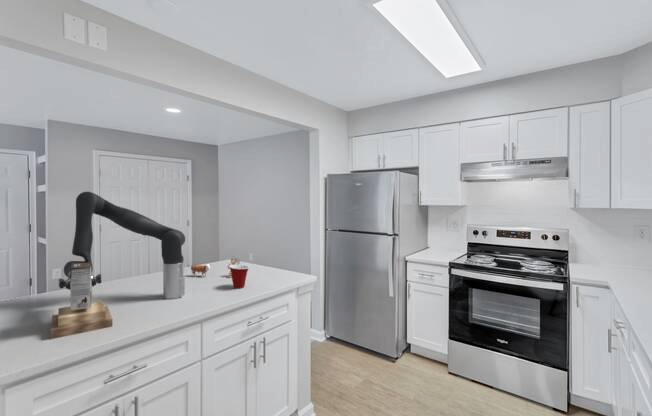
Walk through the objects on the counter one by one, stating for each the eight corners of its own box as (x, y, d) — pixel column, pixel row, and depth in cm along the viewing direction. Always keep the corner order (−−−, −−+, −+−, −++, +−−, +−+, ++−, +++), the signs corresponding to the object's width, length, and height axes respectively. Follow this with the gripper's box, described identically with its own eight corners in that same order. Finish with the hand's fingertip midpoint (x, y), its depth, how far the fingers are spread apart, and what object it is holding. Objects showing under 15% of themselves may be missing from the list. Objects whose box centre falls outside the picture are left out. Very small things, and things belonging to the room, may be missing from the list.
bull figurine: (208, 278, 197) (209, 265, 197) (189, 276, 200) (189, 263, 200) (212, 276, 201) (212, 263, 201) (193, 275, 204) (193, 262, 204)
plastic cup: (252, 288, 177) (252, 266, 177) (232, 291, 171) (233, 268, 170) (245, 283, 186) (245, 263, 186) (226, 286, 180) (226, 265, 179)
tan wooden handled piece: (228, 278, 197) (228, 259, 197) (225, 277, 200) (225, 258, 200) (241, 275, 204) (241, 257, 204) (238, 274, 207) (238, 256, 206)
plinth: (107, 312, 136) (107, 299, 136) (112, 326, 123) (112, 311, 122) (52, 322, 125) (52, 307, 125) (50, 339, 111) (50, 322, 111)
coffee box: (72, 303, 126) (71, 263, 125) (92, 300, 129) (91, 261, 129) (69, 310, 118) (69, 267, 117) (91, 307, 122) (91, 266, 121)
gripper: (57, 269, 130) (57, 278, 117) (100, 265, 139) (104, 273, 126) (57, 287, 130) (57, 298, 117) (100, 282, 139) (104, 291, 126)
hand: (81, 285), depth 122 cm, fingers closed on coffee box, 6 cm apart
